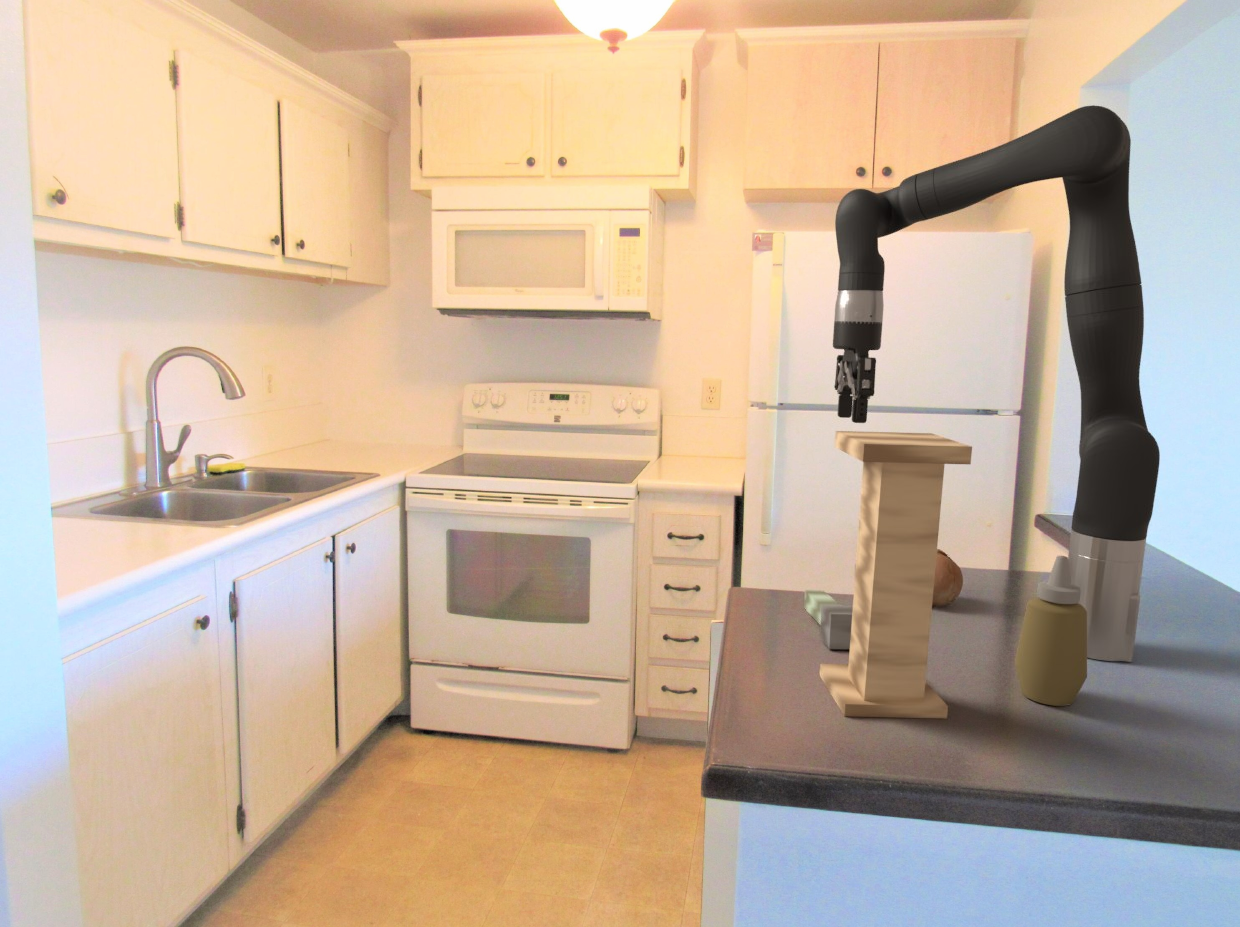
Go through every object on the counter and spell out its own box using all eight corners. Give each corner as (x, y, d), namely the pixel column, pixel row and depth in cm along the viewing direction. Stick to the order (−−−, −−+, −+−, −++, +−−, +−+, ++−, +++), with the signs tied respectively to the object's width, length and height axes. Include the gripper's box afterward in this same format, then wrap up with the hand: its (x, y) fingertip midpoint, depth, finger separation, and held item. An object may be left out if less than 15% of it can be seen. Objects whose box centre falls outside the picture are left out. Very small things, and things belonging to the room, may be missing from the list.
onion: (929, 613, 145) (941, 558, 147) (969, 616, 136) (981, 557, 138) (885, 597, 142) (897, 540, 144) (923, 599, 133) (936, 538, 136)
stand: (819, 674, 110) (835, 430, 105) (910, 676, 110) (931, 433, 105) (844, 716, 98) (864, 443, 93) (946, 718, 98) (972, 446, 93)
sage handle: (797, 614, 137) (799, 583, 136) (828, 614, 137) (829, 584, 136) (829, 648, 118) (831, 614, 118) (864, 649, 118) (866, 614, 118)
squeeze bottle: (1081, 717, 99) (1098, 570, 97) (1006, 700, 104) (1021, 558, 101) (1086, 693, 106) (1102, 555, 103) (1016, 678, 110) (1029, 545, 108)
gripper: (896, 320, 129) (888, 425, 132) (868, 321, 143) (861, 416, 146) (847, 318, 129) (840, 424, 132) (824, 319, 143) (818, 415, 146)
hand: (851, 420), depth 139 cm, fingers open, 8 cm apart
